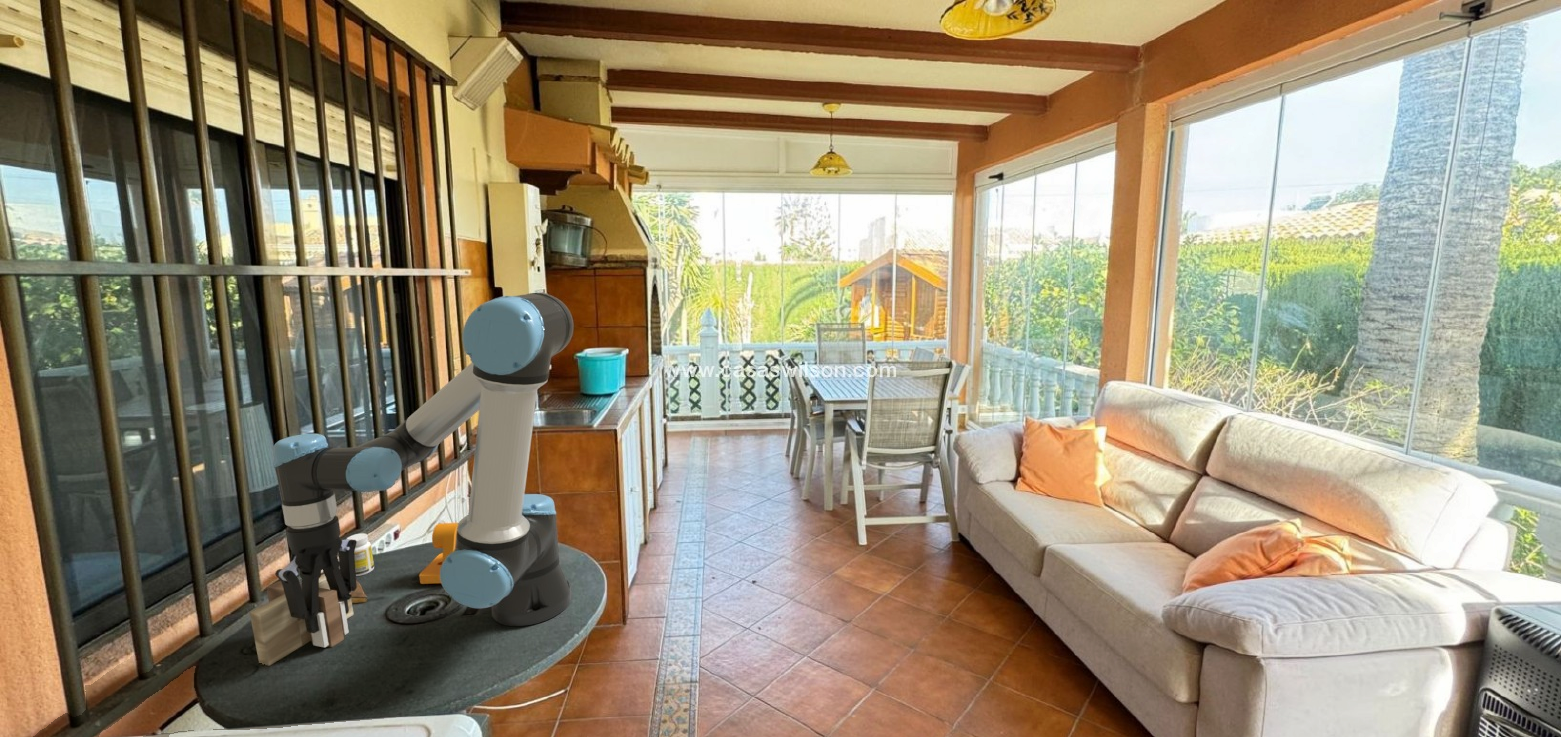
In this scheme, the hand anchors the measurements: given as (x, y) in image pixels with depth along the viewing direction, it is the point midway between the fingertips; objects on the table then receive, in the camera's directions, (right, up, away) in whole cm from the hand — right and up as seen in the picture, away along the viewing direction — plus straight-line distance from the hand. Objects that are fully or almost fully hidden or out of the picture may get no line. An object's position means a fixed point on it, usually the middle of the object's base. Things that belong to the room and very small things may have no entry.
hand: (331, 638), depth 114 cm
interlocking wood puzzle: (-5, -1, +2) cm, 6 cm away
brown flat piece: (-8, +2, +17) cm, 19 cm away
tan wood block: (-5, -1, +2) cm, 6 cm away
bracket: (+8, +4, +24) cm, 26 cm away
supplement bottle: (-12, +4, +26) cm, 29 cm away
